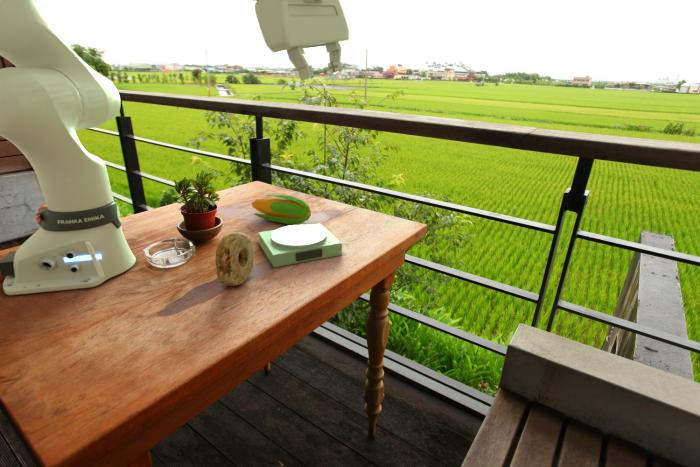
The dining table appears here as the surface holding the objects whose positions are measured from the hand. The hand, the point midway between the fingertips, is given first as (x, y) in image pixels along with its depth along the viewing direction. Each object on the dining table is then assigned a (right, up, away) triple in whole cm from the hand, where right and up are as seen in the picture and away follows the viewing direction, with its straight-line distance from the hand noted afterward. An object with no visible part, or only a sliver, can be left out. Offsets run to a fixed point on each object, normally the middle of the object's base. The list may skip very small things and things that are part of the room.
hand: (323, 75), depth 64 cm
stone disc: (-18, -36, +13) cm, 42 cm away
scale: (-8, -30, +28) cm, 42 cm away
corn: (-16, -23, +46) cm, 53 cm away
